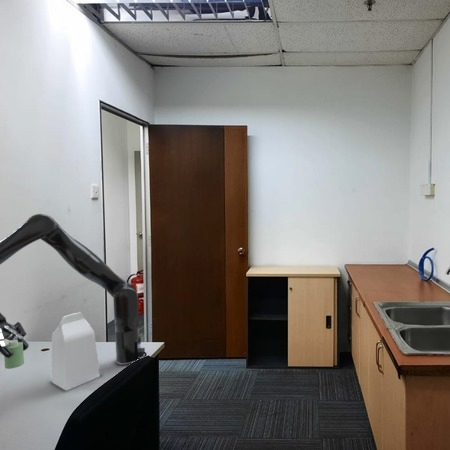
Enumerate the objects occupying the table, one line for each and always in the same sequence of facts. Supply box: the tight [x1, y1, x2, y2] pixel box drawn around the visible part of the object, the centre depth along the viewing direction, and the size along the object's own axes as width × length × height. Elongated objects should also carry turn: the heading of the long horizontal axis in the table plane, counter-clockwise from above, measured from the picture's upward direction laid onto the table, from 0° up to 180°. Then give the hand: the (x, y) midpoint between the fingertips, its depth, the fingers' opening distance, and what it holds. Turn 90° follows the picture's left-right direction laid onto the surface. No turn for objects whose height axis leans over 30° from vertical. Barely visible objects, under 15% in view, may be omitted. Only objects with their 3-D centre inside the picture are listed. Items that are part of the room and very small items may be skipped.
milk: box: [51, 311, 101, 392], centre depth 130 cm, size 12×12×26 cm
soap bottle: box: [3, 340, 25, 370], centre depth 115 cm, size 5×5×8 cm
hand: (18, 352), depth 115 cm, fingers closed on soap bottle, 5 cm apart
